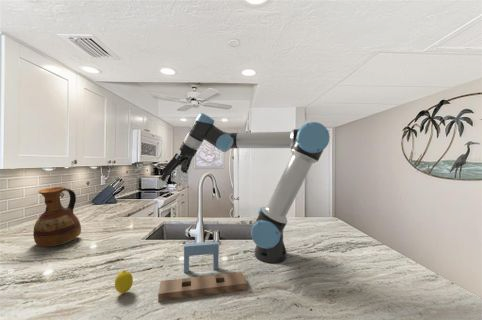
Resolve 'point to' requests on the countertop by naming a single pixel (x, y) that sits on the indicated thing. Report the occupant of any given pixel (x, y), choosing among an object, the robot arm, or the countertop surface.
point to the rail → (201, 286)
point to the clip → (201, 252)
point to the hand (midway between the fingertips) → (168, 184)
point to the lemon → (123, 282)
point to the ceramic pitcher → (56, 219)
